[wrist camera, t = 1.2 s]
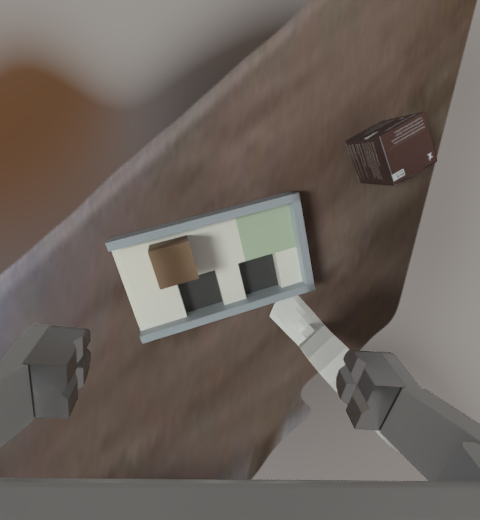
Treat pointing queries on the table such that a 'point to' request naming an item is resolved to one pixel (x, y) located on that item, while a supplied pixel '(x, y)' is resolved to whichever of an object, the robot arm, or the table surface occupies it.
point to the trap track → (218, 264)
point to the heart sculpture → (312, 339)
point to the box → (392, 150)
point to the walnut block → (173, 262)
